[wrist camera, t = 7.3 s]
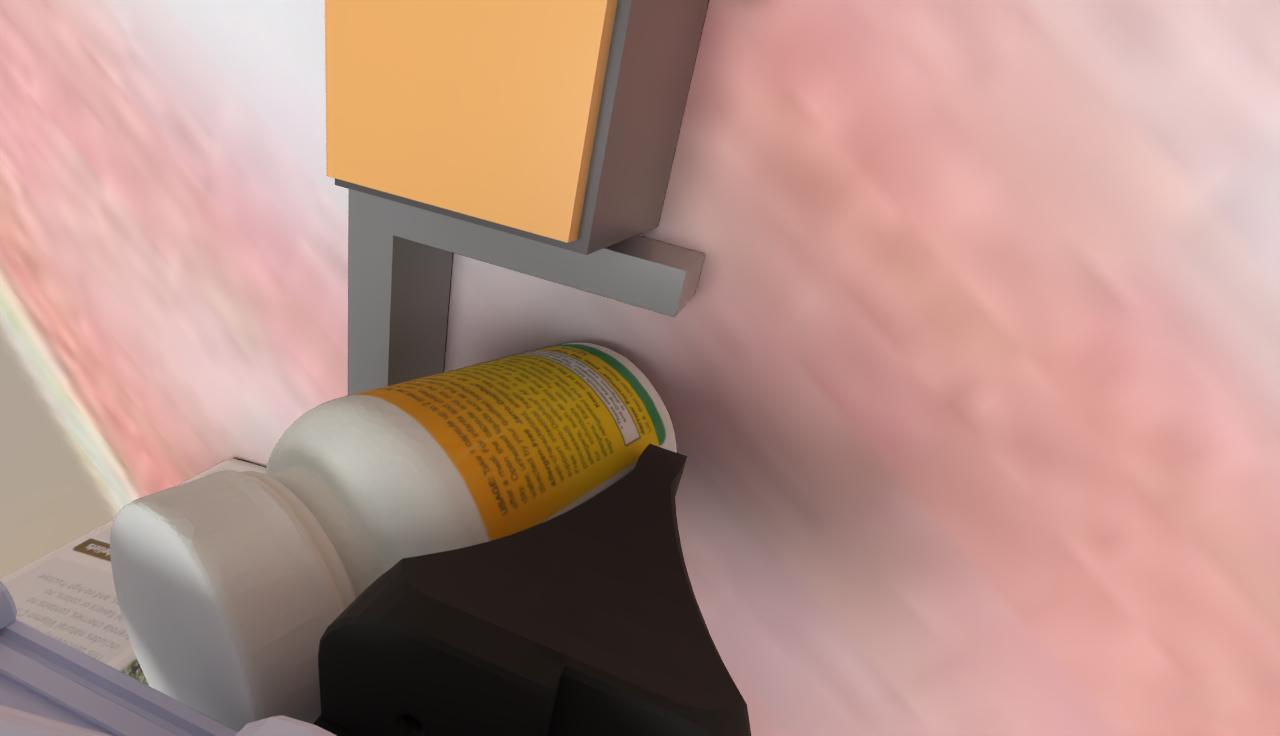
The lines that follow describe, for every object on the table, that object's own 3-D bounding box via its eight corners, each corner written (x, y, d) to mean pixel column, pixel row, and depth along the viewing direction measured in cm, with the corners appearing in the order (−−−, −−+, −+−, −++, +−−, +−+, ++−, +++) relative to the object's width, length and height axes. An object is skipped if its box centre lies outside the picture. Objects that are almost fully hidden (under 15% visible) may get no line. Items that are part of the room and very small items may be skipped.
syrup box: (228, 452, 20) (-811, 968, 7) (363, 491, 19) (-588, 1197, 6) (250, 571, 22) (-523, 1140, 9) (373, 614, 21) (-314, 1334, 8)
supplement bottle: (685, 544, 14) (321, 931, 6) (530, 502, 17) (138, 737, 9) (682, 343, 13) (234, 504, 5) (517, 332, 16) (54, 426, 8)
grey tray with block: (602, 643, 19) (533, 813, 14) (398, 560, 20) (267, 688, 15) (790, -68, 11) (783, -267, 6) (434, -127, 12) (186, -329, 7)
